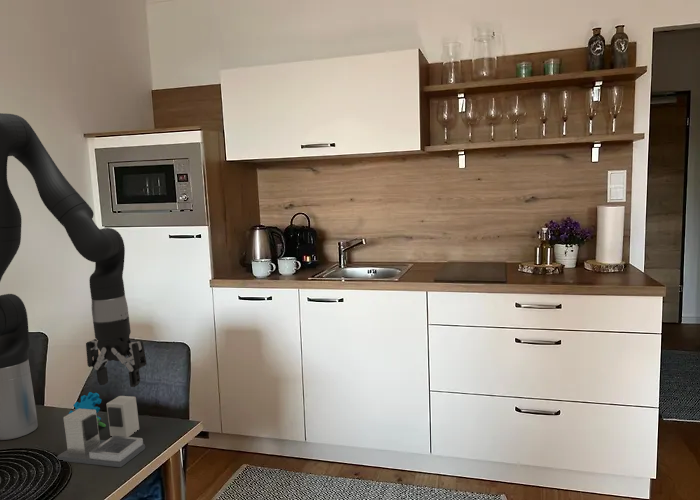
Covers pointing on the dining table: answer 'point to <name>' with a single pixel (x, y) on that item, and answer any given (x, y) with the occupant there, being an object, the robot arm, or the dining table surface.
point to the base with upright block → (96, 442)
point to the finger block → (122, 416)
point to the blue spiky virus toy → (89, 404)
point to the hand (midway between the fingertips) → (119, 384)
